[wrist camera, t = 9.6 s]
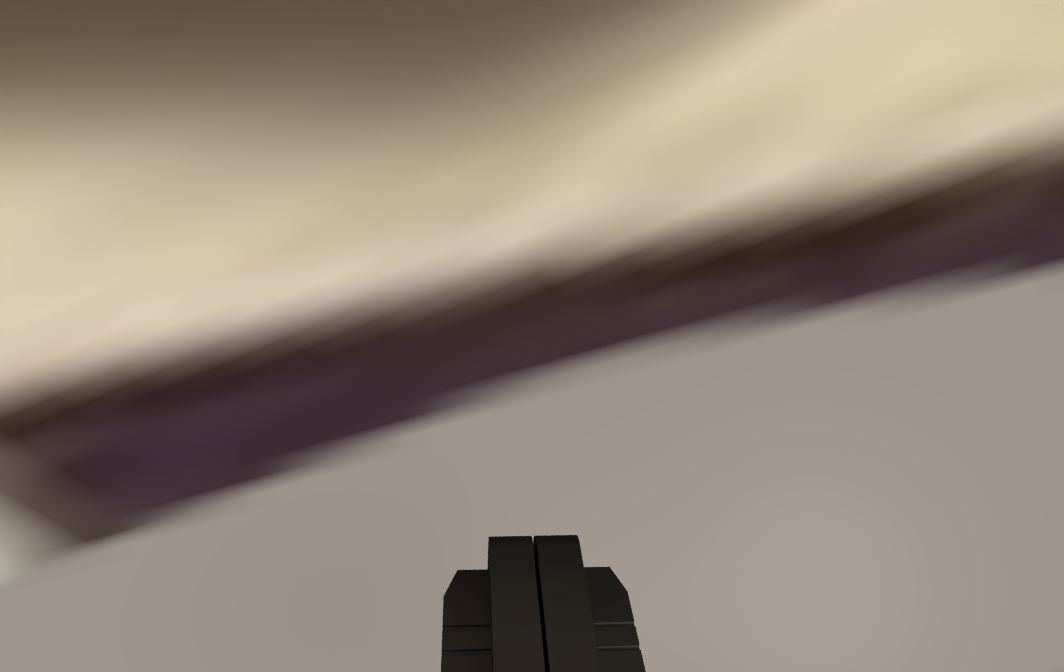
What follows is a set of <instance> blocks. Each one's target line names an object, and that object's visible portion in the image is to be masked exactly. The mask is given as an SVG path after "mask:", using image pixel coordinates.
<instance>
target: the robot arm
mask: <svg viewBox="0 0 1064 672" xmlns="http://www.w3.org/2000/svg"><path fill="white" fill-rule="evenodd" d="M441 658H442V659H441V672H646V671H645V667H644V662H643V658H642V654H641V650H640V649H639V641H638V636H637V632H636V627H635V626H634V618H633V614H632V610H631V605H630V601H629V596H628V592H627V590H626V589H625V588H624V586H623V585H622V583H621V582H620V581H619V579H618V578H617V577H616V575H615V574H614V572H613V571H612V570H611V568H610V567H583V560H582V554H581V548H580V543H579V539H578V536H577V535H555V536H553V535H552V536H534V540H533V541H532V537H531V536H506V537H505V536H503V537H489V542H488V570H458V571H457V572H456V574H455V576H454V578H453V580H452V582H451V584H450V585H449V588H448V589H447V591H446V593H445V595H444V604H443V632H442V657H441Z"/></svg>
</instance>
